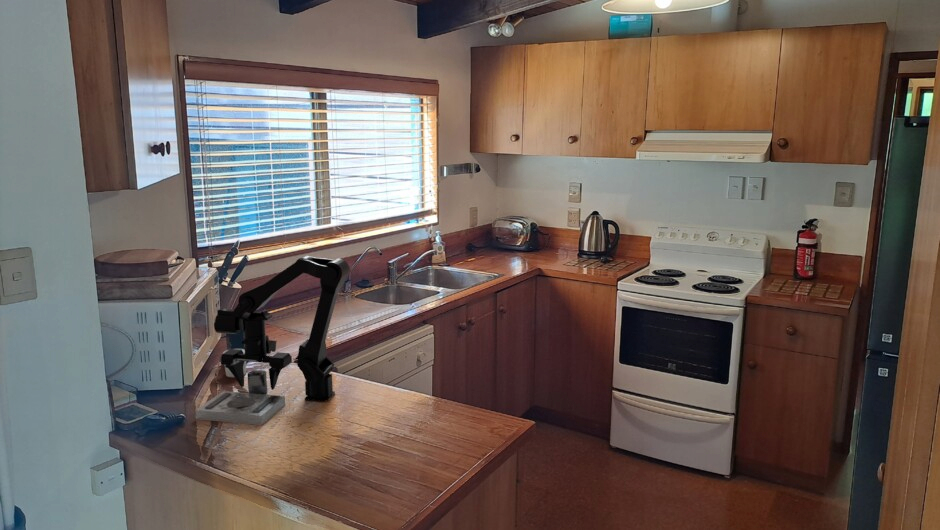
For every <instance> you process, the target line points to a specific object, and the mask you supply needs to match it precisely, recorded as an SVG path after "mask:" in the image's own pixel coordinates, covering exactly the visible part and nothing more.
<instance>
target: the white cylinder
mask: <svg viewBox="0 0 940 530" xmlns="http://www.w3.org/2000/svg"><path fill="white" fill-rule="evenodd" d="M237 350H242V351H243V353H244V354H245V350H244V349H237ZM227 351H228V350H227V349H226V350H224V351H223V352H222V354H223V353H225V352H227ZM224 371H225V375H226V377H228V378H235V377H234V375H233V374H232V373H231V371H230V370H229V369H228V368H226V367H225V366H224ZM243 372H244V376H245V375H246V373H247V362H246V361H244V365H243Z"/></svg>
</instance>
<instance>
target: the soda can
mask: <svg viewBox="0 0 940 530" xmlns="http://www.w3.org/2000/svg"><path fill="white" fill-rule="evenodd" d="M225 338H226V339H225V341H226V351H227V350H230V349H244V350H245V347H244V344H242V340H243V339H244V330H241V331H240V333H239V334H228V333H225ZM246 363H248V361H246Z"/></svg>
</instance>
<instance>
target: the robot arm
mask: <svg viewBox="0 0 940 530" xmlns="http://www.w3.org/2000/svg"><path fill="white" fill-rule="evenodd" d="M349 273H350V265H349V264H348V262H347V261H346V260H345V259H343V258H338V257H337V258H333V259H331V258H323V257H315V256H310V255H304V256H302V257H300V258H298V259H297V260H296V261H295V262H294V263H292V264H291V265H289V266H288V267H286V268H285V269H284V270H282V271H281V272H280V273H277V274H276V275H275V276H274V277H272V278H271V279H269V280H268V281H266V282H265V283H262V284H259V285H257V286H255V287H253V288H250V289H249V290H247V291H244V292H243V293H242V294H240V295H239V296H238V304H237V305H236V307H235V308H234V309H232V308H231V309H230V308H229V309H228V308H224V307H222V308H218V309H217V311H216V312H217V314H216V316H215V318H214V323H213V327H214V331H215V333H217V334H226V333H228V334H239V333H240V331H241V330H244V339H243V340H242V344H244V347H245V354H244V353H243V351H242V350H237V349H230V350H228V351H227V350H226V351H227V352H225V353H223V352H222V354H221V356H220V357H219V358H220V359H219V361H220V365H223V366H224V368H225V367H226V368H228V369H229V370H230V371H231V373H232V374H233V375H234V377H233V378H235V380H236V382H237V383H238V385H239V386H240V387H241V388H243V387H245V375H244V372H243V365H244V361H247V362H250V363H252V362H253V363H265V364H268V365H269V366H270V367H269V368H268V375H269V376H268V377H269V385H270V389H271V390H272V391H273V390H275V388H276V385H277V382H278V378H279V376H280V373H281V371H282V370H283V369H286V368H287V366H289V365H290V364H291V363H292V362H293V360H292V359H293V358H292V355H291V354H290V352H276V350H277V340H270V339H269V335H267V334H266V321H269V320H270V319H271V318H272V317H273V314H271V313H270V312H268V310H267V309H263V310H262V311H261V312H259V311H258V310H260V309H261V308H263V307H265V305H266V304H267V303H268V302H269V301H271V299H272V298H273V297H274V296H275V295H276V293H278V292H279V291H280V290H282V289H283V288H285V287H286V286H287V285H289V284H290V283H292V282H293V281H294V280H297V278H299V277H301V276H302V275H303V274H306V275H308V276H312V277H313V278H317V279H319V284H320V296H319V298H318V299H319V300H318V303H317V307H316V311H315V313H314V315H315V316H314V318H313V322H312V326H311V331H310V334H309V338H308V339H306V340H305V341H303V342H302V343H300V345H299V346H298V353H297V356H296V358H295V361H296V360H297V363H296V364H297V367H298V368H299V370H300V371H301V372H302V374H303V377H304V380H305V381H304V386H305V387H304V389H305V390H304V391H305V397H304V400H305V401H311V402H313V401H314V402H325V403H326V402H328V401H329V400H330V399H331V398H332V397H333V396H335V394H336V391H333V388H334V387H333V374H332V373H331V372H333V370H334V367H335V363H333V362H332V360H331V359H330V358H329V357H328V356H327V343H326V339H327V336H328V331H329V328H330V324H331V320H332V317H333V312H334V309H335V304H336V301H337V298H338V294H339V292H340V290H341V289H342V287H343V285H344V284H345V283H346V280H347V278H348V275H349ZM246 313H248V314H246ZM272 352H273V353H275V352H276V353H275V354H273V355H270V354H271V353H272ZM330 373H331V374H330Z"/></svg>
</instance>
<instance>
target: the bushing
mask: <svg viewBox="0 0 940 530" xmlns="http://www.w3.org/2000/svg"><path fill="white" fill-rule="evenodd" d="M247 388H248V393H252V394H264V395H268V380H267V371H266V370H261V369H256V370H252V371H251V370H250V371H249V372H247Z"/></svg>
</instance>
